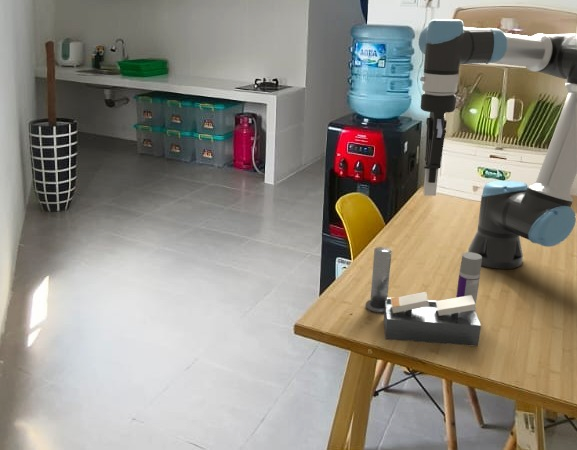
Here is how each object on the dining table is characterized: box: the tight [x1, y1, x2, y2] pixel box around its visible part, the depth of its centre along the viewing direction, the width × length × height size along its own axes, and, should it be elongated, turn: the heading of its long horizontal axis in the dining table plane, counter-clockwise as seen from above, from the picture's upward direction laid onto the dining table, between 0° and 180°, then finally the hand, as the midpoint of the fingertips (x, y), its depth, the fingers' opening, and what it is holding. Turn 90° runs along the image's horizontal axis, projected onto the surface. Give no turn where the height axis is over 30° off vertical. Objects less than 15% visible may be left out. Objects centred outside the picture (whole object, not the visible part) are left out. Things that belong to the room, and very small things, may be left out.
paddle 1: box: [390, 291, 429, 313], centre depth 141 cm, size 8×4×2 cm, turn 84°
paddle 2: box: [435, 295, 477, 316], centre depth 141 cm, size 8×4×1 cm, turn 84°
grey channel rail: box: [383, 297, 482, 347], centre depth 143 cm, size 20×9×6 cm, turn 85°
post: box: [365, 246, 393, 315], centre depth 152 cm, size 6×6×15 cm
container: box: [455, 251, 482, 306], centre depth 150 cm, size 5×5×15 cm
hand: (429, 194), depth 149 cm, fingers closed
